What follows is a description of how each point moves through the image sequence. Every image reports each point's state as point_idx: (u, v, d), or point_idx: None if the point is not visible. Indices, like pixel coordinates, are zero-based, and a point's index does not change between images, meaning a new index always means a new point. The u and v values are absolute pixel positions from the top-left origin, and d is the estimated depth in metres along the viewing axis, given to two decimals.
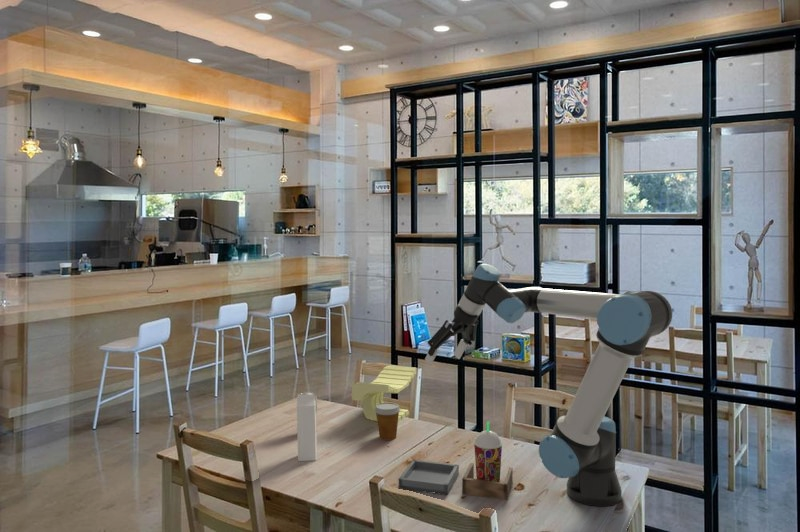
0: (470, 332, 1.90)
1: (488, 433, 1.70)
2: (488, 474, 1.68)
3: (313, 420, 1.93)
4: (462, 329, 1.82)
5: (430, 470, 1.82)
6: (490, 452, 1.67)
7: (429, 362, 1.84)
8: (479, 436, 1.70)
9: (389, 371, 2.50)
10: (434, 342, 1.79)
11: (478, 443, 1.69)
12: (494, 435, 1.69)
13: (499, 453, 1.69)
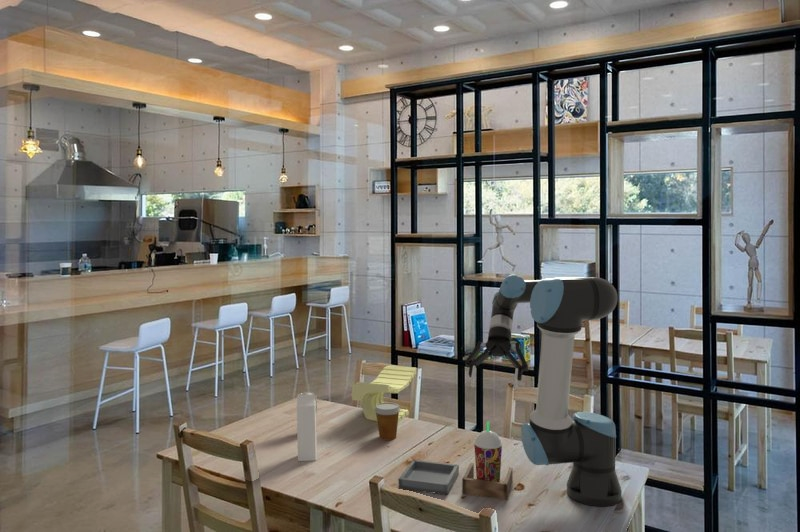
0: (520, 360, 1.85)
1: (488, 433, 1.70)
2: (488, 474, 1.68)
3: (313, 420, 1.93)
4: (494, 344, 1.88)
5: (430, 470, 1.82)
6: (490, 452, 1.67)
7: (470, 382, 1.82)
8: (479, 436, 1.70)
9: (389, 371, 2.50)
10: None
11: (478, 443, 1.69)
12: (494, 435, 1.69)
13: (499, 453, 1.69)
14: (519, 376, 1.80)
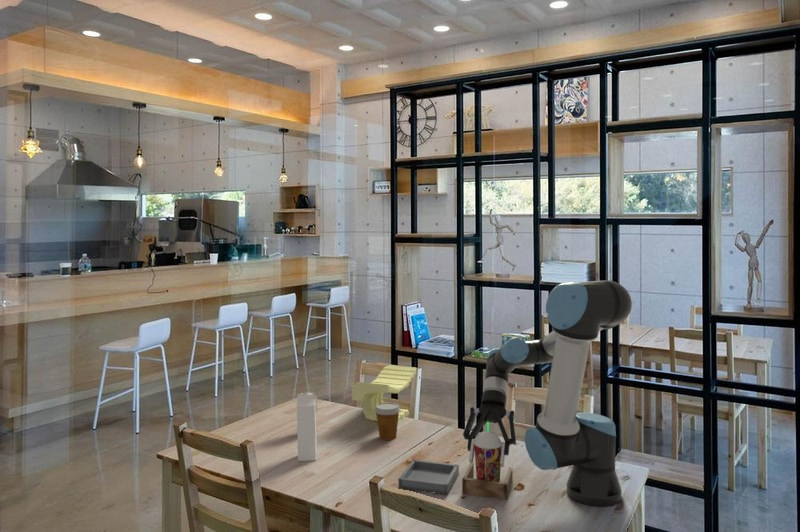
0: None
1: (488, 433, 1.70)
2: (488, 474, 1.68)
3: (313, 420, 1.93)
4: (489, 410, 1.77)
5: (430, 470, 1.82)
6: (490, 452, 1.67)
7: None
8: (479, 436, 1.70)
9: (389, 371, 2.50)
10: None
11: (478, 443, 1.69)
12: (494, 435, 1.69)
13: (499, 453, 1.69)
14: (506, 451, 1.69)
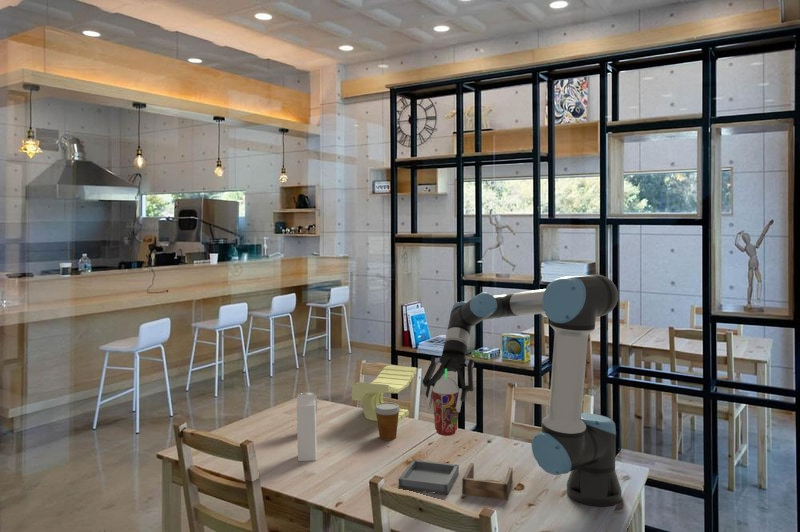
0: None
1: (445, 379, 1.74)
2: (445, 418, 1.72)
3: (313, 420, 1.93)
4: (448, 359, 1.81)
5: (430, 470, 1.82)
6: (447, 397, 1.71)
7: None
8: (437, 382, 1.74)
9: (389, 371, 2.50)
10: None
11: (435, 389, 1.73)
12: (451, 381, 1.73)
13: (456, 399, 1.73)
14: (462, 397, 1.73)
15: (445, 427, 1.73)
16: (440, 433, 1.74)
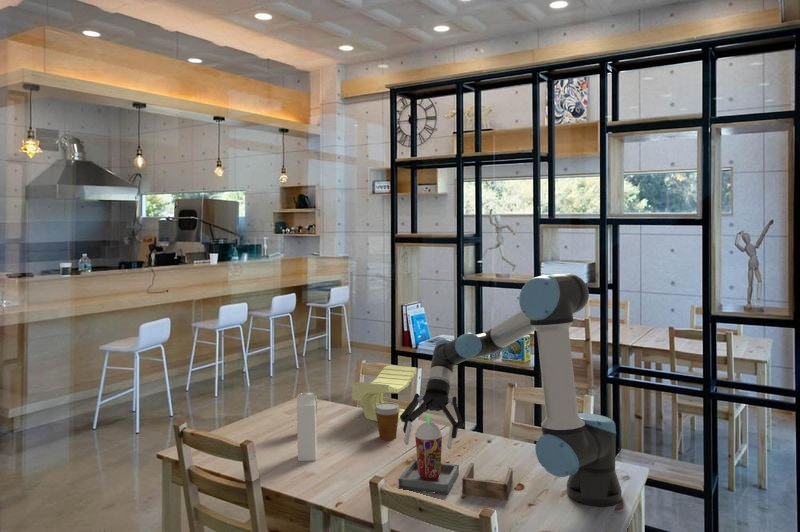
0: None
1: (428, 425, 1.74)
2: (428, 464, 1.73)
3: (313, 420, 1.93)
4: (431, 399, 1.82)
5: None
6: (429, 443, 1.72)
7: None
8: (419, 428, 1.75)
9: (389, 371, 2.50)
10: None
11: (418, 434, 1.74)
12: (434, 427, 1.74)
13: (438, 444, 1.74)
14: (453, 434, 1.73)
15: (428, 473, 1.73)
16: (423, 479, 1.75)
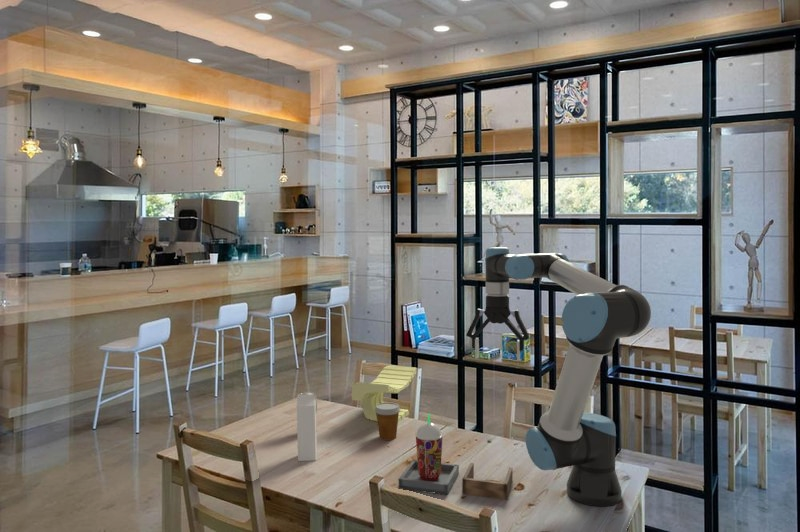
0: None
1: (428, 425, 1.74)
2: (428, 464, 1.73)
3: (313, 420, 1.93)
4: (493, 316, 1.85)
5: None
6: (430, 443, 1.72)
7: (475, 356, 1.89)
8: (420, 428, 1.75)
9: (389, 371, 2.50)
10: (468, 330, 1.90)
11: (419, 435, 1.74)
12: (434, 427, 1.74)
13: (439, 444, 1.73)
14: (521, 348, 1.85)
15: (428, 473, 1.73)
16: (423, 479, 1.75)
